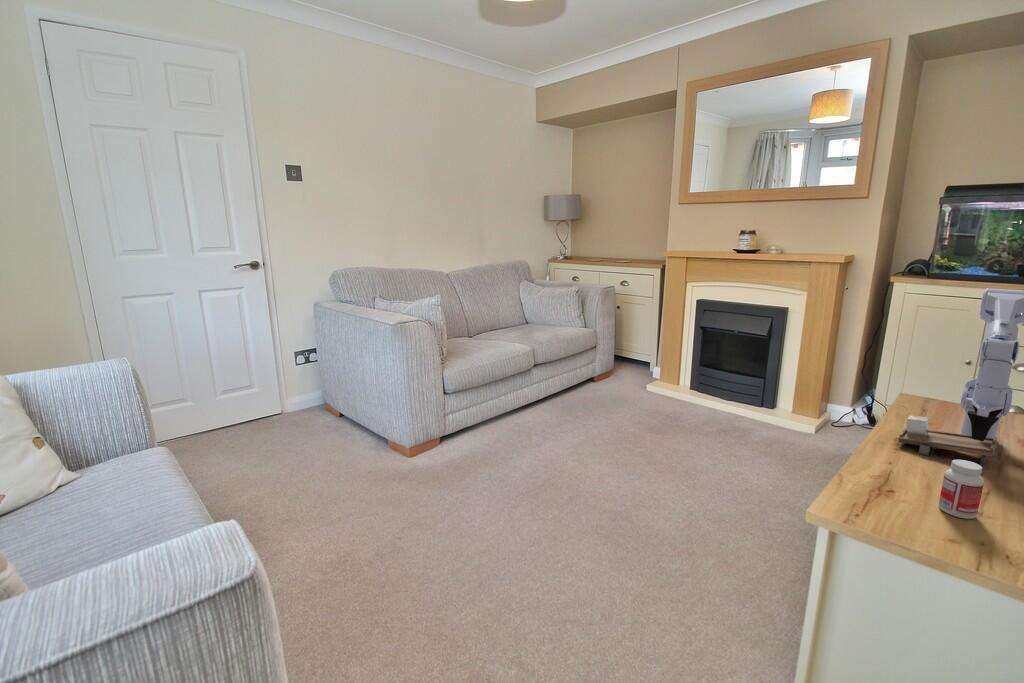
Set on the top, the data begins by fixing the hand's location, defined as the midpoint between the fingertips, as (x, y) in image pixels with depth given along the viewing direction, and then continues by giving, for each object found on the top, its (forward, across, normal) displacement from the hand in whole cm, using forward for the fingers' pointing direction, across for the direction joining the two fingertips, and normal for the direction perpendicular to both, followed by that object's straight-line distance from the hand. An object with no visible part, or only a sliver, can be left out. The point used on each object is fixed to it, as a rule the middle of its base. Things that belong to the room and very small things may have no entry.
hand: (979, 435), depth 125 cm
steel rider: (+4, 0, -12) cm, 13 cm away
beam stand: (+7, 0, -9) cm, 12 cm away
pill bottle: (+7, +35, +1) cm, 36 cm away
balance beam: (+4, 0, -9) cm, 10 cm away
